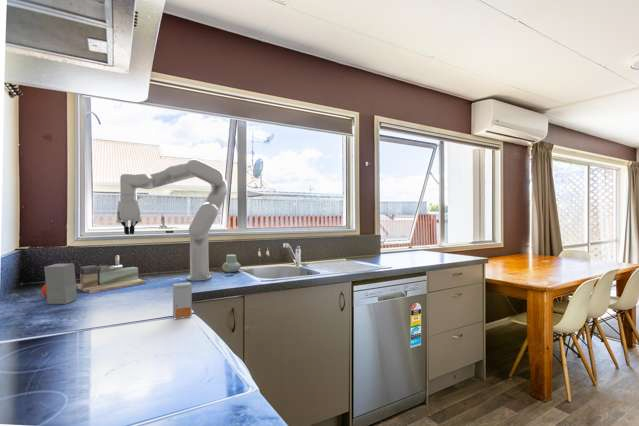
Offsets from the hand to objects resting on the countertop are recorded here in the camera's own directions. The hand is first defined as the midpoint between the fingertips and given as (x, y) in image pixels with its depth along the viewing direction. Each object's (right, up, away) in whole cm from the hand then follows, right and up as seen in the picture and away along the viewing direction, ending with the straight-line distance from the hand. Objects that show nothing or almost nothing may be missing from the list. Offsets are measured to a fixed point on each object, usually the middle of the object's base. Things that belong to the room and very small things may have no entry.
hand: (129, 233), depth 182 cm
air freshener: (+45, -25, +30) cm, 60 cm away
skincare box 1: (-8, -26, -36) cm, 46 cm away
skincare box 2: (+49, -27, -56) cm, 79 cm away
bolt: (-6, -18, -7) cm, 20 cm away
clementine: (-18, -26, -29) cm, 43 cm away
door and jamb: (-6, -25, -7) cm, 27 cm away
